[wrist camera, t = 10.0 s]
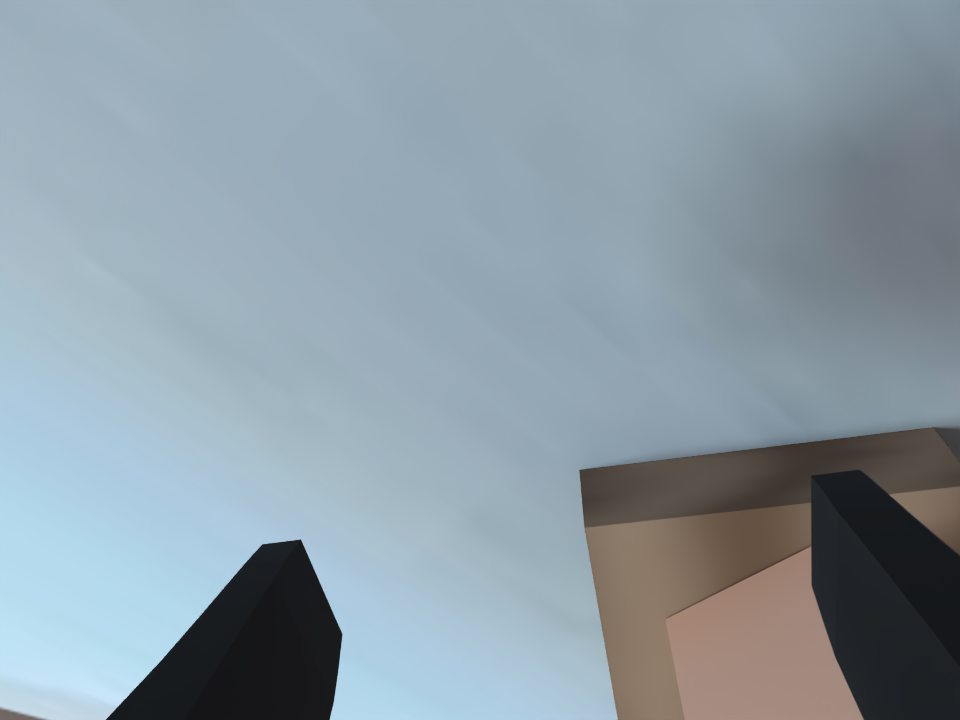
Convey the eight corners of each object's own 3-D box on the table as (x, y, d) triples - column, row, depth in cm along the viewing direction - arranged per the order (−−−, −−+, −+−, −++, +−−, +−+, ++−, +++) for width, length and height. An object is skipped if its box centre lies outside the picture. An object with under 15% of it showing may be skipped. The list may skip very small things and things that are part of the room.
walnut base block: (925, 417, 22) (977, 484, 20) (901, 649, 27) (940, 727, 25) (578, 459, 24) (584, 527, 21) (614, 673, 29) (623, 749, 26)
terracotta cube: (821, 540, 21) (897, 708, 17) (906, 639, 23) (995, 813, 18) (665, 619, 23) (698, 787, 18) (755, 705, 25) (804, 876, 20)
